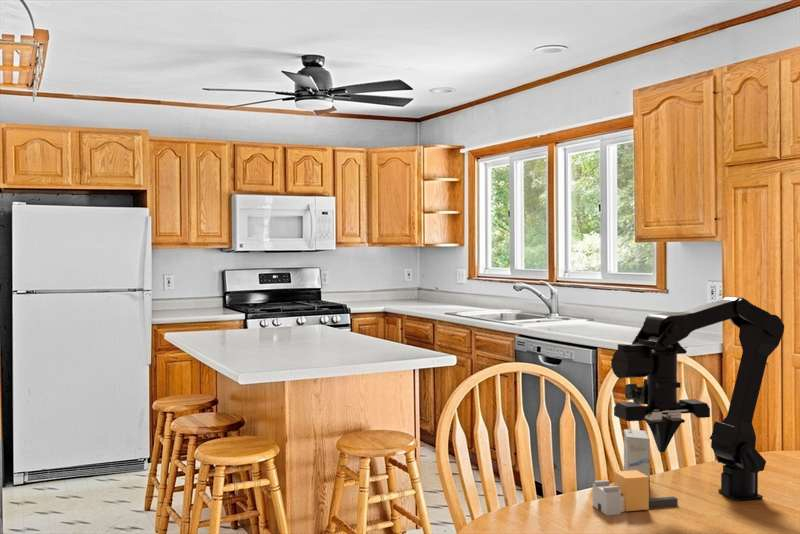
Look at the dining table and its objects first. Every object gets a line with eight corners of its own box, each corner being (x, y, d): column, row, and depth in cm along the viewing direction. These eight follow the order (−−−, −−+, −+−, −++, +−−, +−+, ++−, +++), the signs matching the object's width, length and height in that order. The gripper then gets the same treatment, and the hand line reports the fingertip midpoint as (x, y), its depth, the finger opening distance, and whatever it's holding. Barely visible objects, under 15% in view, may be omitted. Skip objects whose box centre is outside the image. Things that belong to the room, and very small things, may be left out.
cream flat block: (615, 505, 157) (615, 491, 157) (624, 511, 154) (624, 496, 154) (611, 506, 157) (611, 491, 157) (619, 512, 153) (619, 497, 153)
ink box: (650, 492, 166) (650, 438, 165) (627, 491, 167) (627, 437, 166) (645, 481, 174) (646, 429, 174) (623, 479, 175) (623, 428, 175)
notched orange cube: (636, 501, 159) (636, 470, 159) (648, 509, 154) (648, 476, 154) (614, 503, 158) (614, 471, 158) (625, 511, 153) (625, 478, 153)
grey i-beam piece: (606, 504, 158) (606, 479, 158) (620, 514, 152) (620, 487, 152) (592, 505, 157) (592, 480, 157) (606, 515, 152) (606, 488, 151)
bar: (673, 503, 159) (673, 496, 159) (677, 505, 157) (677, 498, 157) (597, 509, 155) (597, 502, 155) (601, 511, 154) (601, 504, 154)
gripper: (680, 368, 167) (680, 440, 167) (601, 371, 163) (601, 444, 163) (711, 376, 156) (711, 453, 156) (627, 379, 152) (627, 458, 152)
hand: (661, 451), depth 157 cm, fingers closed
